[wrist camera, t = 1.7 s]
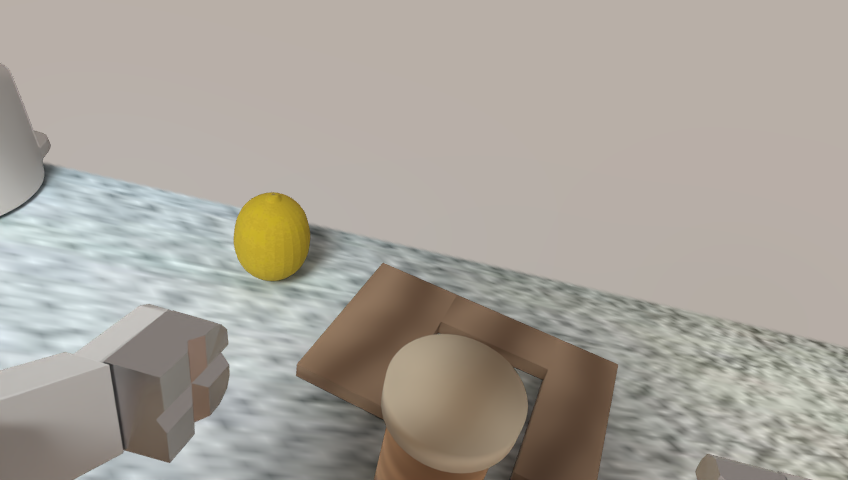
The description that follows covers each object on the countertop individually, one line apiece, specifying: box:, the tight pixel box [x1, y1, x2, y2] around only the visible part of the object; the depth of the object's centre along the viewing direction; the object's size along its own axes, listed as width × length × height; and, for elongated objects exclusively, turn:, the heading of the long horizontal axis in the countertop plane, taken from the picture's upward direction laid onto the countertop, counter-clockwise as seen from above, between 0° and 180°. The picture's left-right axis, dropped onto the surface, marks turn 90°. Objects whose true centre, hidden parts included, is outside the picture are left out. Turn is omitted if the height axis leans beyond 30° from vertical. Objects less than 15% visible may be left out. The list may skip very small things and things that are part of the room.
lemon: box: [234, 192, 310, 281], centre depth 41 cm, size 6×6×8 cm
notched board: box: [296, 263, 618, 480], centre depth 39 cm, size 20×12×1 cm, turn 66°
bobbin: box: [374, 334, 528, 480], centre depth 26 cm, size 6×6×13 cm
